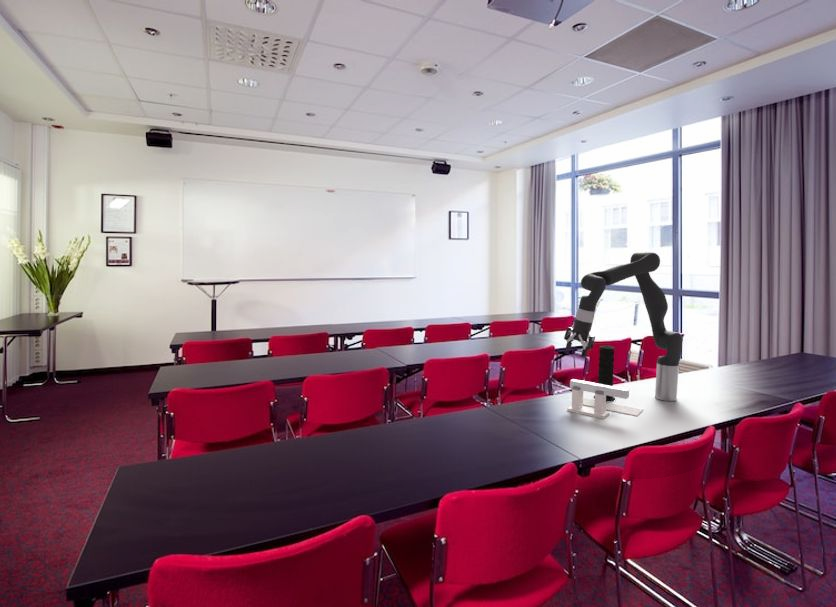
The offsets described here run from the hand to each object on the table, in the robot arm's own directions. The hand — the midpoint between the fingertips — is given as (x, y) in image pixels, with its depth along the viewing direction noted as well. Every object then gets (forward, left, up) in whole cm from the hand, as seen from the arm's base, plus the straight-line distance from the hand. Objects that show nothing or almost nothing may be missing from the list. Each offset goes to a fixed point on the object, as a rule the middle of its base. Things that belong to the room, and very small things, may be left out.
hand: (575, 353), depth 204 cm
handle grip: (-24, +6, -26) cm, 36 cm away
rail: (+2, +11, -15) cm, 19 cm away
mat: (-12, +11, -25) cm, 30 cm away
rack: (+2, +7, -25) cm, 27 cm away
